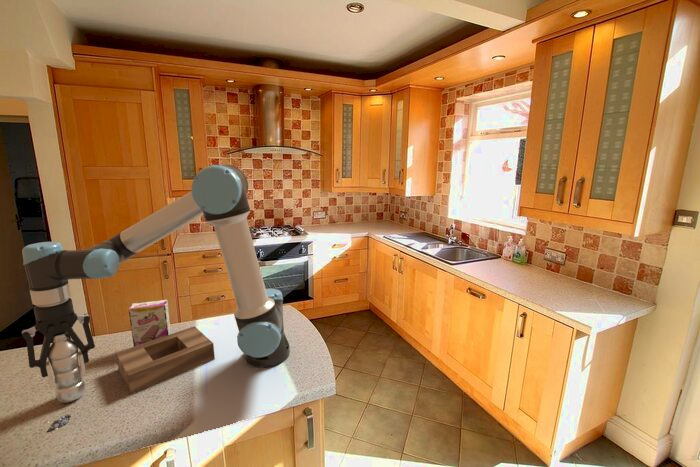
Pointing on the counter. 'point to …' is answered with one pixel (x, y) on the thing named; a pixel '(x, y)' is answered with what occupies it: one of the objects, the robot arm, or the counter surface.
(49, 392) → the counter surface
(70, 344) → the plastic bottle
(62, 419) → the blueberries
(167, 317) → the candy bar box
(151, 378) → the bottle caddy
